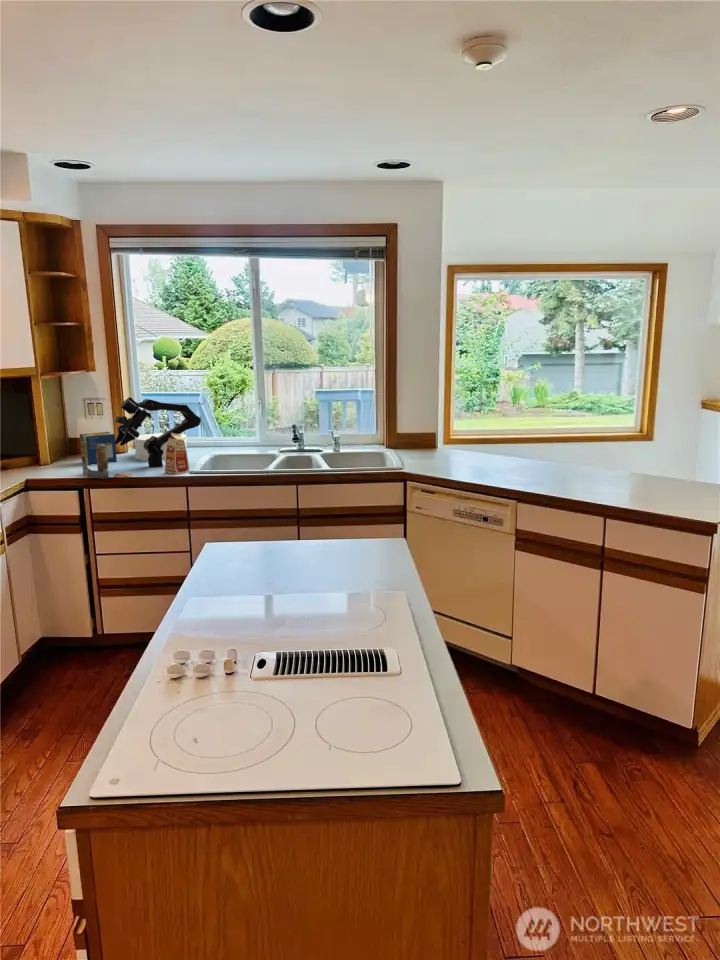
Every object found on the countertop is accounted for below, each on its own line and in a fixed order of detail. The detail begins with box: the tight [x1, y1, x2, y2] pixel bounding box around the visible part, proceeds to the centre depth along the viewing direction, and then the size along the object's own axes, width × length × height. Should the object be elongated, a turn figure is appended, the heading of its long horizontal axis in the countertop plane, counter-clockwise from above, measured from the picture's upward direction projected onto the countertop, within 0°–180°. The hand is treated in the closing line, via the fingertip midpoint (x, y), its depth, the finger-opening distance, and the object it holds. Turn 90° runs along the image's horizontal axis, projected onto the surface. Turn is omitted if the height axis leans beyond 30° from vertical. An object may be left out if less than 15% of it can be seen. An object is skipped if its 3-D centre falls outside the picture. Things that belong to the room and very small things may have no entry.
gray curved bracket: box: [82, 463, 110, 480], centre depth 306 cm, size 5×21×5 cm, turn 52°
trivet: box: [113, 472, 133, 479], centre depth 307 cm, size 8×8×1 cm
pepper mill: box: [96, 444, 109, 471], centre depth 314 cm, size 5×5×14 cm
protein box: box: [79, 431, 118, 466], centre depth 341 cm, size 10×15×16 cm
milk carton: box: [164, 433, 190, 475], centre depth 315 cm, size 9×9×20 cm
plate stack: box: [134, 432, 188, 461], centre depth 359 cm, size 28×28×12 cm
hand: (117, 444), depth 318 cm, fingers open, 9 cm apart
